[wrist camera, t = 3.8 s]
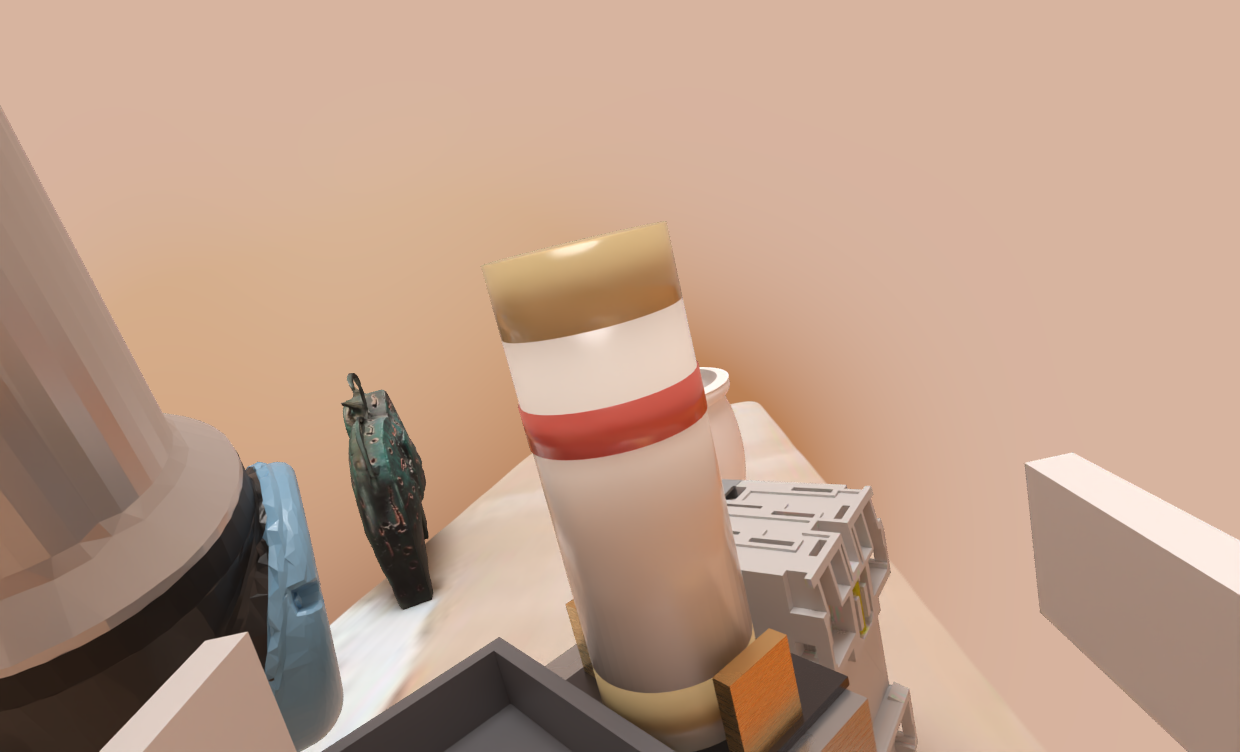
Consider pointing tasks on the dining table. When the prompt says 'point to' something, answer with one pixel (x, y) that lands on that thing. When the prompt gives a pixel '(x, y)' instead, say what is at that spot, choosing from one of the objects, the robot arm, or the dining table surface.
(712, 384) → the jar
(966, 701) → the dining table surface
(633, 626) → the fuse
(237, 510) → the robot arm
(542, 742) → the tray
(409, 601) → the green animal figurine
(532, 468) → the dining table surface
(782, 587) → the circuit breaker
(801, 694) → the dark grey box
